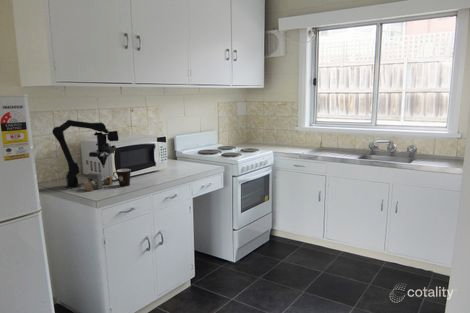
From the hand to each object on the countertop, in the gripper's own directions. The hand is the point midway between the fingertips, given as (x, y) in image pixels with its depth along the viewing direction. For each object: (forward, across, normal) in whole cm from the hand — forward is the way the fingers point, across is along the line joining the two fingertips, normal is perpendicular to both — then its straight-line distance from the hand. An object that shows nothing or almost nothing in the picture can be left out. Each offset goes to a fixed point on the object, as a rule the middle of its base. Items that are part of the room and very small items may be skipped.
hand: (103, 165), depth 239 cm
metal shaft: (+12, -10, -4) cm, 16 cm away
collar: (+12, -13, -4) cm, 18 cm away
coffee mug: (+12, 0, -15) cm, 19 cm away
